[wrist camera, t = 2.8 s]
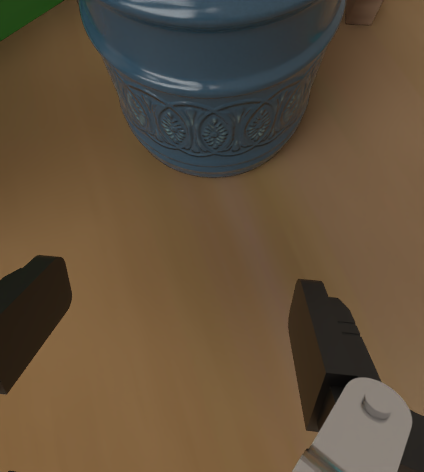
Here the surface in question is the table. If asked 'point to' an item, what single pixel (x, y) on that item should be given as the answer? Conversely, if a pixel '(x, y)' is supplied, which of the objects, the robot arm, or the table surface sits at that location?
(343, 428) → the robot arm
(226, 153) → the canister
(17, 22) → the hardback book
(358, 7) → the shallow wooden tray
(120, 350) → the table surface
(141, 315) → the table surface
